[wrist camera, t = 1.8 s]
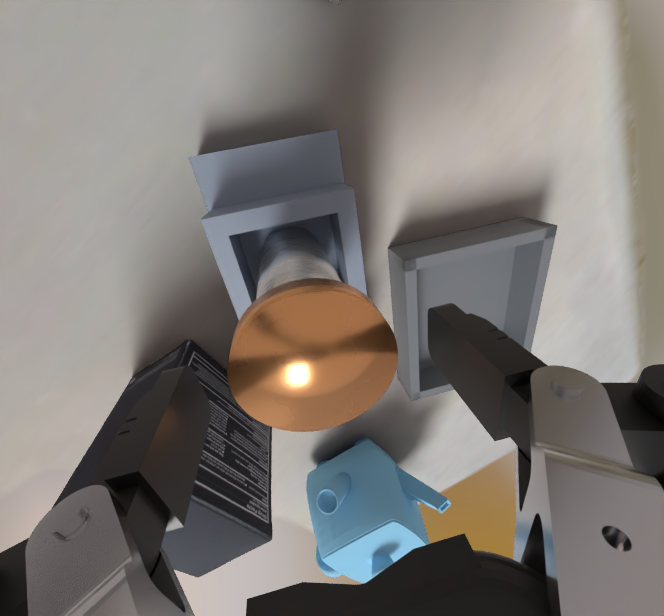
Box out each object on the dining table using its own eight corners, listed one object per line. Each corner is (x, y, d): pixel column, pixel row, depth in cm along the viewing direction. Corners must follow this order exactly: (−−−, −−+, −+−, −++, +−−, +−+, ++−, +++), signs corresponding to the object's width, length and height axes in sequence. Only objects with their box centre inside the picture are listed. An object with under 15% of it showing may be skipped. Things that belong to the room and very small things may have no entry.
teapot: (261, 456, 30) (257, 583, 21) (378, 386, 28) (427, 491, 19) (349, 519, 38) (372, 627, 30) (442, 467, 37) (495, 565, 28)
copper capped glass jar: (239, 226, 17) (198, 320, 7) (325, 207, 18) (393, 275, 8) (264, 302, 20) (257, 447, 10) (338, 285, 20) (402, 408, 10)
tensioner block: (196, 156, 17) (168, 157, 12) (330, 131, 18) (352, 122, 13) (277, 383, 26) (278, 435, 21) (364, 361, 26) (384, 406, 22)
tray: (387, 247, 22) (404, 261, 19) (523, 217, 23) (557, 225, 20) (397, 377, 28) (411, 401, 25) (502, 349, 29) (527, 369, 26)
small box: (124, 379, 23) (27, 530, 14) (190, 335, 22) (133, 463, 13) (219, 444, 28) (194, 586, 19) (275, 410, 27) (277, 540, 18)
